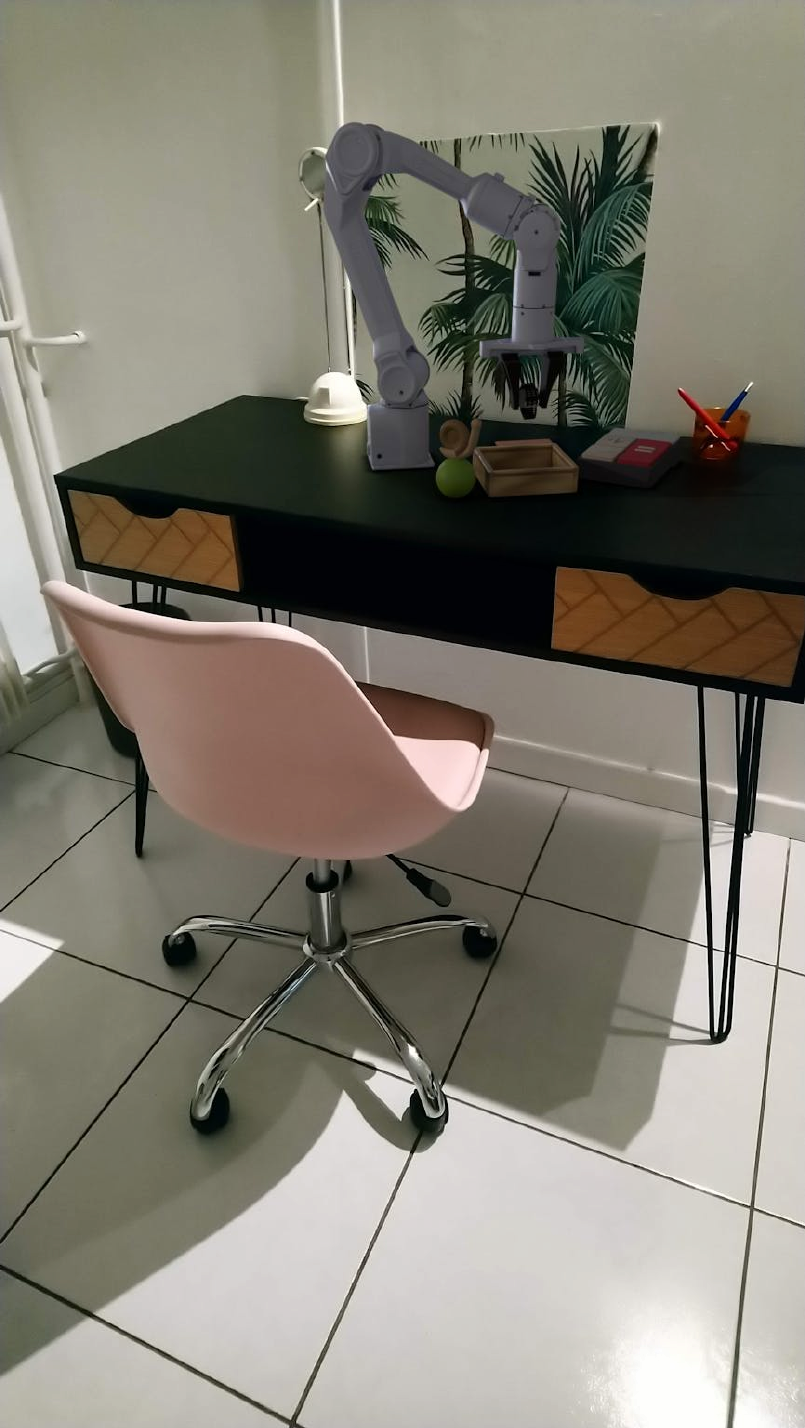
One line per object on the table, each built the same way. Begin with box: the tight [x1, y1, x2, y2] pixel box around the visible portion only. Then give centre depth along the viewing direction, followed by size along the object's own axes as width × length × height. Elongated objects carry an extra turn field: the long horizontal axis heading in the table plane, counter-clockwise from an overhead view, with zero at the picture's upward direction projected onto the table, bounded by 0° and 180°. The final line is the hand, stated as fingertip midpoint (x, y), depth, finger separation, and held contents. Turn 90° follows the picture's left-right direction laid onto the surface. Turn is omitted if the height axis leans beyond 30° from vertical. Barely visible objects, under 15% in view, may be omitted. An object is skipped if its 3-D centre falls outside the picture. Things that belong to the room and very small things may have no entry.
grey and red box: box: [576, 427, 684, 490], centre depth 130 cm, size 11×4×15 cm
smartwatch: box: [519, 382, 540, 421], centre depth 129 cm, size 4×5×5 cm
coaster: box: [494, 438, 554, 446], centre depth 141 cm, size 9×9×1 cm
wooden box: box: [472, 442, 579, 498], centre depth 127 cm, size 12×12×4 cm
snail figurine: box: [435, 409, 484, 499], centre depth 119 cm, size 5×6×12 cm
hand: (528, 407), depth 129 cm, fingers closed on smartwatch, 3 cm apart
